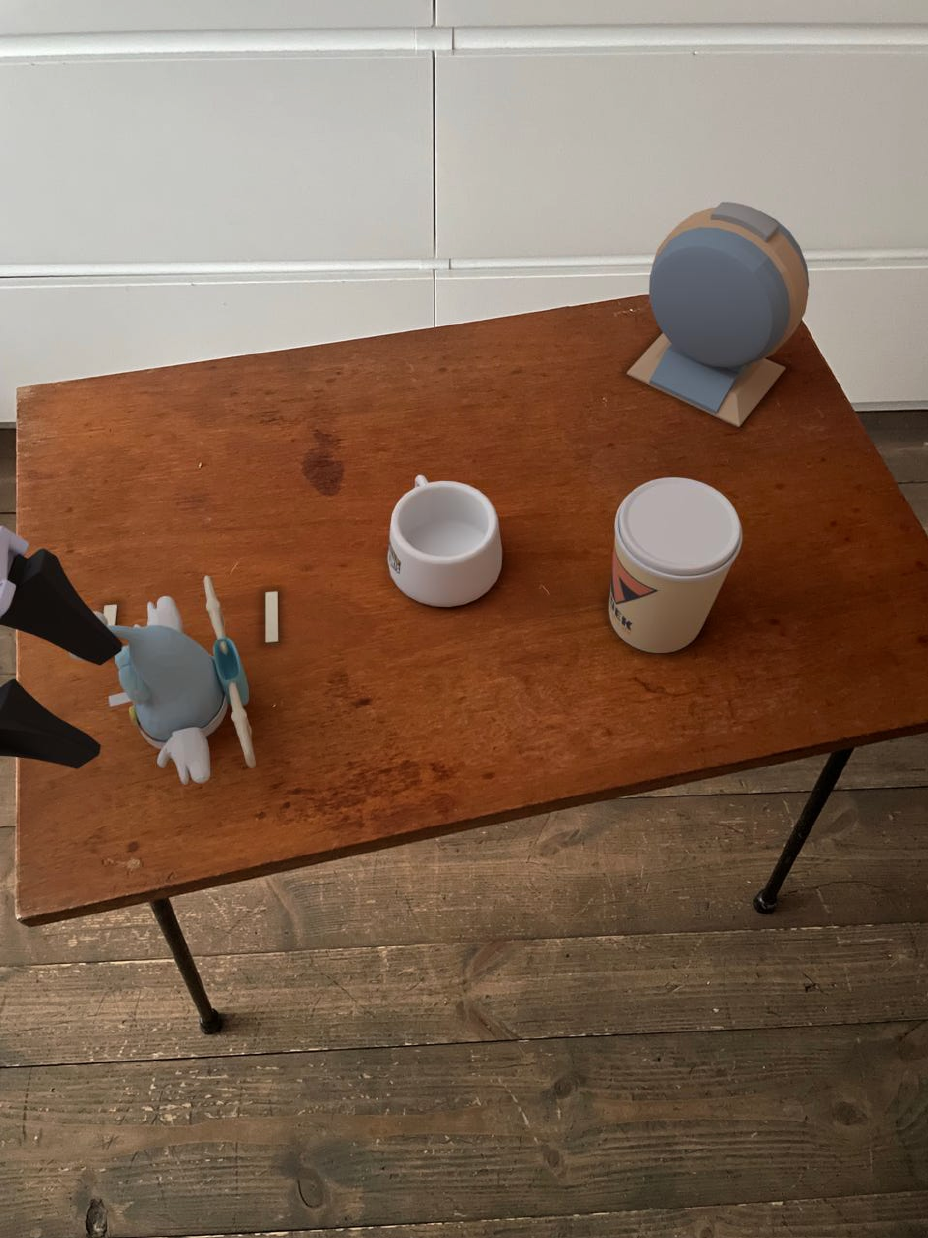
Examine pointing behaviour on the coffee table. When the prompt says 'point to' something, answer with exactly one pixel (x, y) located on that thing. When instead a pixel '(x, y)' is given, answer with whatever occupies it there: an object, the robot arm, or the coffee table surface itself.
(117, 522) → the coffee table surface
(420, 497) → the mug
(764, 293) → the alarm clock
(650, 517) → the coffee cup
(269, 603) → the tape marks
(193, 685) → the toy figure
